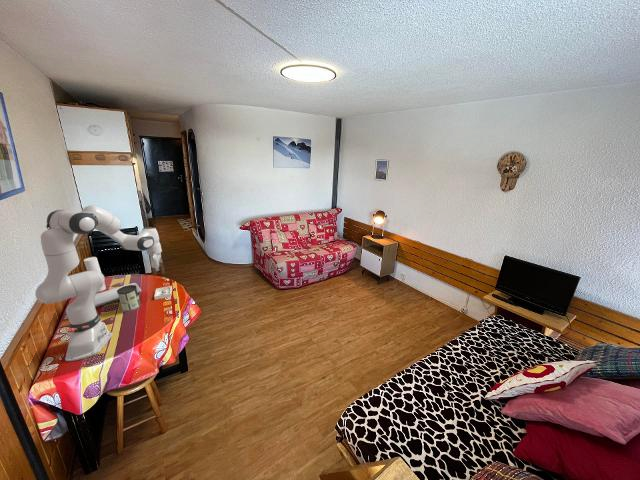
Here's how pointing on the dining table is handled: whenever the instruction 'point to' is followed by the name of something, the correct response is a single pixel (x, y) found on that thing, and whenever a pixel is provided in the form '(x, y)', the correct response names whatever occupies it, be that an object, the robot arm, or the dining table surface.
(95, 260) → the cylindrical container
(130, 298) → the coffee can
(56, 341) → the dining table surface
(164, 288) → the cream tray
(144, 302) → the dining table surface
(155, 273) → the brown open box frame
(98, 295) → the tray
